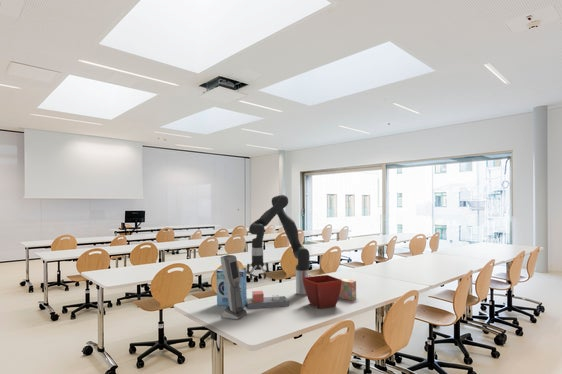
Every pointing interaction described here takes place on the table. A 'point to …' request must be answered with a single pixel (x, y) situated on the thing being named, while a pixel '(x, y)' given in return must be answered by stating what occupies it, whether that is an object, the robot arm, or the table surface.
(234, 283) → the thermal camera
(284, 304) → the breaker panel
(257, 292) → the cap
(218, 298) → the gum box
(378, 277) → the table surface
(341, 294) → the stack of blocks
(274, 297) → the block
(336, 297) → the plant pot
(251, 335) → the table surface
